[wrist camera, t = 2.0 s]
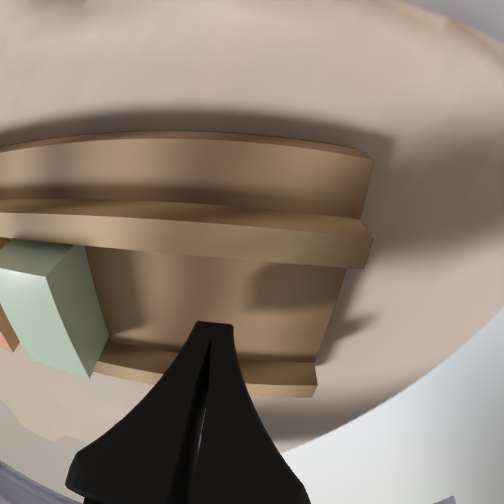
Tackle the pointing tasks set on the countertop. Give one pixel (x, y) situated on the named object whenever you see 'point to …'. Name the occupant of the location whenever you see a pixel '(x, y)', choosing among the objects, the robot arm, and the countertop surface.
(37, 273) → the pale green upright block
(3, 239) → the salmon pink block
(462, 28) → the countertop surface
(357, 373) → the countertop surface
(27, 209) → the brown wooden rack
